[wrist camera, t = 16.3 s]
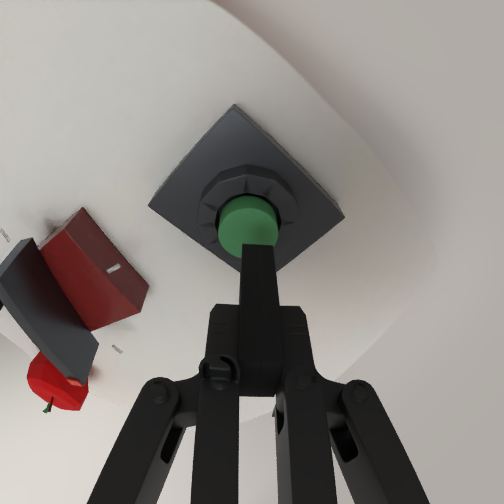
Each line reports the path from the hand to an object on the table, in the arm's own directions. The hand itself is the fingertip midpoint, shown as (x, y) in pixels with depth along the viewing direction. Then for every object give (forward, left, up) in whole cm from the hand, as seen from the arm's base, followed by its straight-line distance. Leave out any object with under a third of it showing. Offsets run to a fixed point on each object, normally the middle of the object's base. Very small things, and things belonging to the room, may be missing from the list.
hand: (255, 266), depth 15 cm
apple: (+28, +28, -9) cm, 40 cm away
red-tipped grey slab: (+18, +9, -5) cm, 21 cm away
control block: (0, 0, -8) cm, 8 cm away
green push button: (0, 0, -5) cm, 5 cm away
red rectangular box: (+18, +9, -8) cm, 22 cm away
